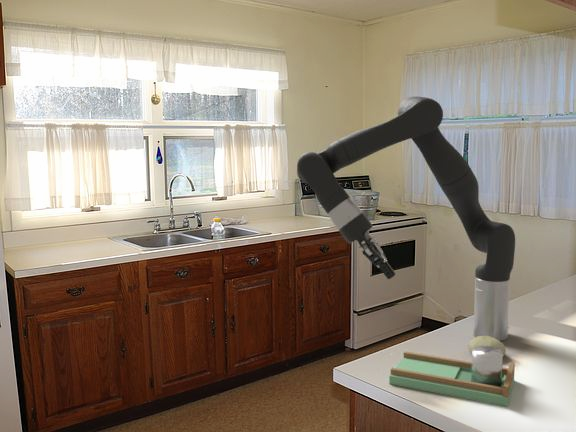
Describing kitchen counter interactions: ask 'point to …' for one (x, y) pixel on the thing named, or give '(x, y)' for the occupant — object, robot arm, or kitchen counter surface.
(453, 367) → the green railed board
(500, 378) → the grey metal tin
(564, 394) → the kitchen counter surface
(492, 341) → the sea urchin shell
